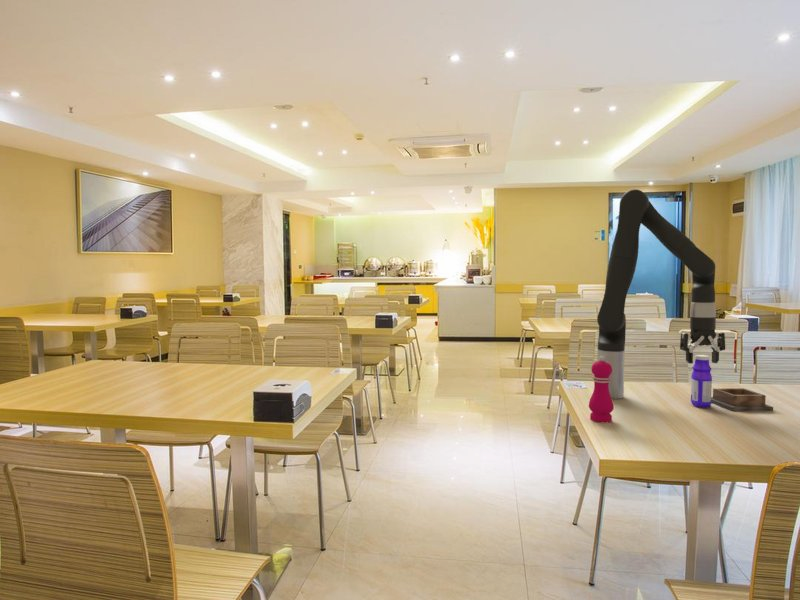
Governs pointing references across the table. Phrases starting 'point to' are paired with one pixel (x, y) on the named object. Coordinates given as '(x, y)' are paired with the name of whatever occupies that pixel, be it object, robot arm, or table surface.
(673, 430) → the table surface
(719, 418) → the table surface
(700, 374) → the bottle
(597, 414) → the pepper mill
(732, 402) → the open box
